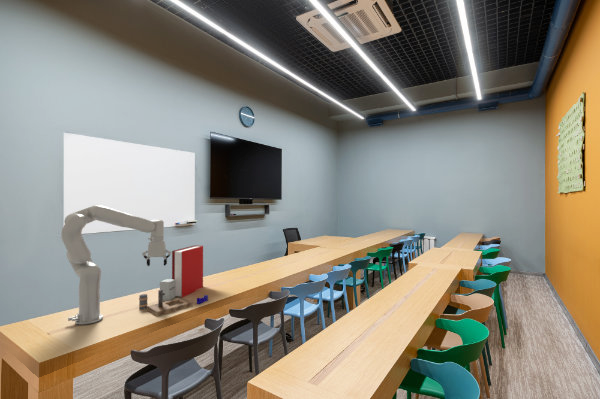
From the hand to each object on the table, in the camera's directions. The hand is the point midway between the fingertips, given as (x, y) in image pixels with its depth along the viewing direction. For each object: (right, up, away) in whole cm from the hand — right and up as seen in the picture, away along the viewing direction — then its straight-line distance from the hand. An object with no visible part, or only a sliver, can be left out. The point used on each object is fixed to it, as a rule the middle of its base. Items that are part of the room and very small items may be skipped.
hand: (156, 265), depth 193 cm
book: (+11, -26, +27) cm, 39 cm away
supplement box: (+2, -25, +11) cm, 28 cm away
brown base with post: (+12, -25, -7) cm, 29 cm away
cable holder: (+28, -26, +4) cm, 38 cm away
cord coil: (-5, -25, -7) cm, 27 cm away
